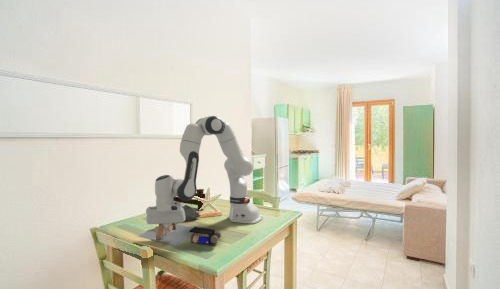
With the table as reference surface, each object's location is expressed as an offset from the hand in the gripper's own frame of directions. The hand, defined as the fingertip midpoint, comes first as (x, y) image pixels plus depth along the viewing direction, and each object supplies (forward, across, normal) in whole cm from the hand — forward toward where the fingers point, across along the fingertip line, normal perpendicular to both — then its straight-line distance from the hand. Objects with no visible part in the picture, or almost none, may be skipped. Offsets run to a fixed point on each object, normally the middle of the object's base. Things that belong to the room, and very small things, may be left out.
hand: (167, 230), depth 135 cm
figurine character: (+4, +22, -9) cm, 24 cm away
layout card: (+4, +1, +4) cm, 6 cm away
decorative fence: (+5, -4, +53) cm, 54 cm away
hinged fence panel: (+2, -2, +1) cm, 3 cm away
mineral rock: (+4, +5, +25) cm, 26 cm away
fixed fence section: (+3, -4, +11) cm, 12 cm away
